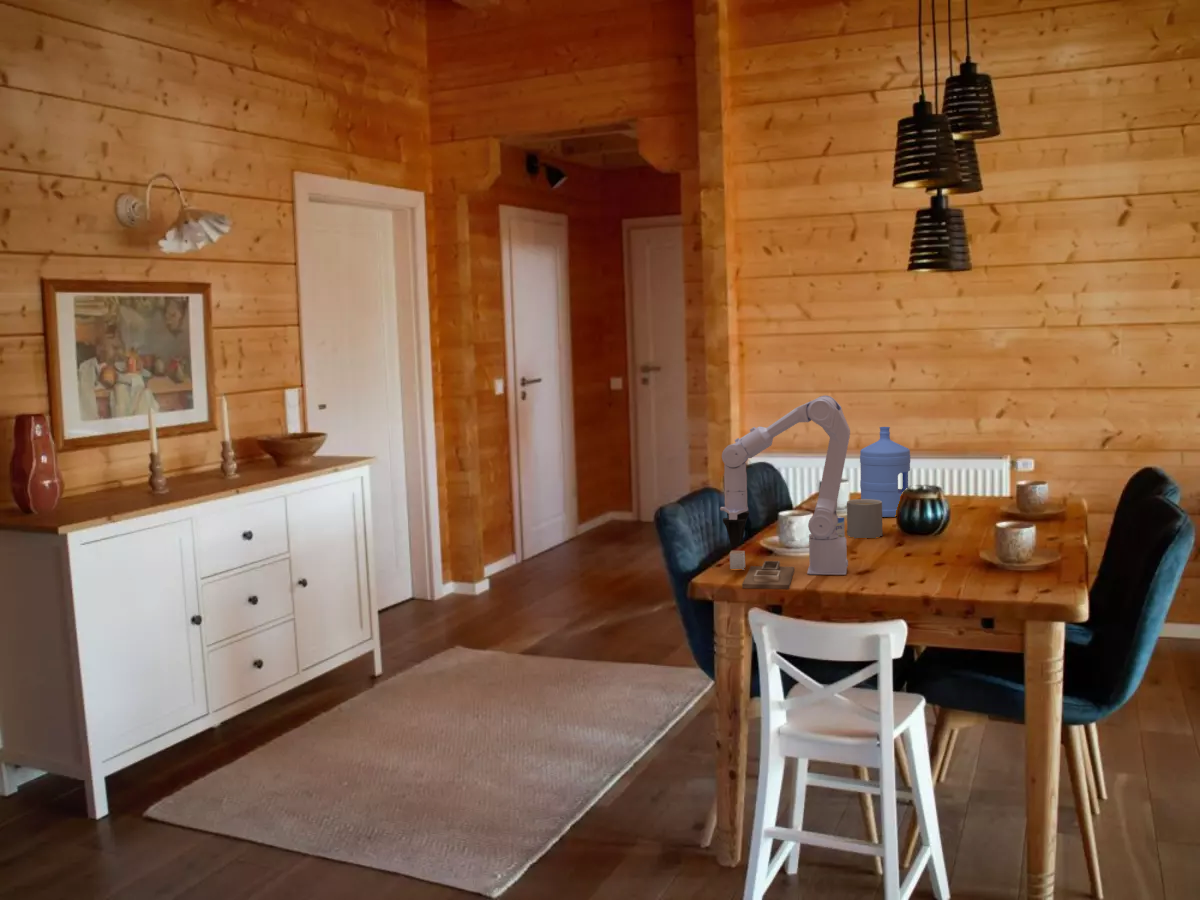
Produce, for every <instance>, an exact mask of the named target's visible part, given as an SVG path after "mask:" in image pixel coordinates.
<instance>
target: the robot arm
mask: <svg viewBox="0 0 1200 900" xmlns="http://www.w3.org/2000/svg"><path fill="white" fill-rule="evenodd" d="M811 421H812V422H813V423H815V424H816V425H818V426H819V427H821V428H822V429H823V430H824V432H825V433H826V434H827V436H828V437H829V440H828V445H827V450H826V456H825V461H824V467H823V471H822V472H823V473H822V478H821V481H820V487H819V493H818V498H817V502H816V504H815V508H814V512H813V514H812V516H811V517H810V519H809V521H808V525H807V527H808V530H809V532H810V534H808V544H809V545H808V547H809V551H808V552H809V553H808V554H809V556H808V557H809V566H808V569H807V572H806V573H807V575H827V576H828V575H830V576H831V575H832V576H833V575H836V576H838V575H839V576H841V575H842V576H843V575H844V576H845V575H847V571H848V569H847V568H848V567H849V559H847V557H848V555H847V537H846V536H845V537H838V534H837V532H836V531H835V530H834V529H835V528H836V526H837V524H838V516H839V515H838V514H837V510H838V509H837V508H838V498H839V494H840V489H841V483H842V479H843V478H842V477H843V472H844V468H845V462H846V458H847V452H848V446H849V441H850V437H851V436H850V435H851V429H850V426H849V424H848V422H847V419H846V417H845V415H844V412H843V408H842V406H841V405H840V404H839V402H838V401H836V400H835V398H834V397H832V396H831V395H830V396H829V395H820V396H819V397H816V398H815V399H813V400H810V401H807V402H805V403H803V404H801V405H799V406H797V407H795V408H793V410H791V411H789V412H788V413H786V414H784V416H782V417H780V418H779V419H777V420H776V421H775V422H773V423H772V424H769V426H767V427H764V426H757V427H756V426H753V427H752V428H750V429H749V431H750V432H748V433H747V434H745V435H743V436H742V437H740V438H739V437H737V438H736V439H734V442H735V443H731V444H728V445H727V446H726V447H724V449H723V451H722V453H721V459H722V463H723V464H724V473H723V476H724V477H723V478H724V479H723V481H724V482H723V483H724V485H723V486H724V506H720V508H719V510H720V511H721V512H722V511H723V512H725V513H727V517H724V518H722V523H723V524H724V526H725V529H726V532H727V535H728V541H729V544H730V546H731V547H739V546H740V545H741V544H740V543H741V541H743V539H744V535H745V530H746V529H745V528H746V523H747V520H748V517H749V515H750V511H749V507H748V486H747V485H748V483H747V481H748V477H747V461H748V459H752V458H754V457H756V456H757V455H758V454H760V453H762V452H763V451H765V450H767V449H768V448H770V447H772V445H773V440H774V439H775V437H777V436H779V435H780V434H782V433H784V432H785V431H787V430H789V429H790V428H792V427H794V426H795V425H797V424H798V423H810V422H811Z"/></svg>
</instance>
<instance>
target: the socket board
mask: <svg viewBox="0 0 1200 900" xmlns="http://www.w3.org/2000/svg"><path fill="white" fill-rule="evenodd" d="M794 573H795V566H781V561H780V560H764V562H763V564H762V566H761V565H758V566H757V565H750V567H749V569H748V571H747V573H746V575H745V578H744V579H743V582H742V584H741V585H742V589H763V590H764V589H766V590H767V589H768V590H769V589H770V590H771V589H772V590H777V589H778V590H789V589H790V586H791V583H792V580H793V577H792V576H794Z"/></svg>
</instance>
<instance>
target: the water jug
mask: <svg viewBox="0 0 1200 900" xmlns="http://www.w3.org/2000/svg"><path fill="white" fill-rule="evenodd" d="M890 429H891V427H890V426H879V439H878V440H876V441H875V442H873V443H871V444H868V445H867V446H865V447H862V449H860V453H859V454H860V455H859V463H860V480H859V481H860V482H859V483H860V485H859V487H860V499H873V500H880V501H882V517H895V515H896V510H897V507H898V504H899V501H900V496H901V494H902V492H903V491H904V490H905V489H906V488H908V489H909V472H910V470H911V450H910V448H909V447H905V446H904V445H903V444H902V445H901V444H899V443H898V442H895V441H893V440H892V439H891V431H890ZM900 474H902V487H901V488H899V476H900Z"/></svg>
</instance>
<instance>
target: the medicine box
mask: <svg viewBox="0 0 1200 900" xmlns="http://www.w3.org/2000/svg"><path fill="white" fill-rule="evenodd" d="M837 516H838V524H837V526H836V528H835V529H834V530H835V531H836V532H837V534H838V537H845V538H846V536H845V533H846V532H845V517H842V516H841V515H837Z"/></svg>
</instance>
